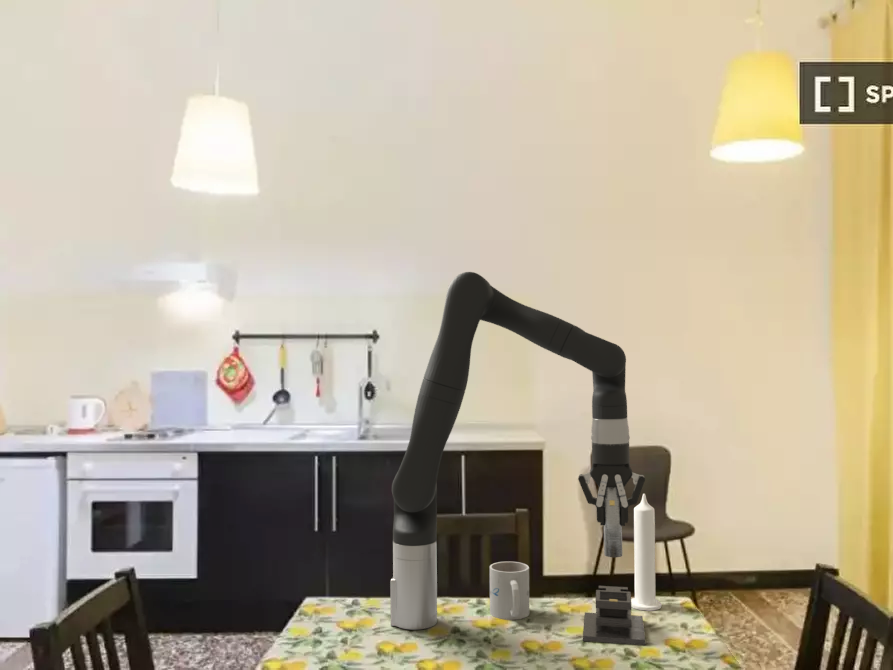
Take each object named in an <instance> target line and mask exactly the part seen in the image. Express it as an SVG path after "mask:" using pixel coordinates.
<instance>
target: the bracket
mask: <svg viewBox="0 0 893 670" xmlns="http://www.w3.org/2000/svg"><path fill="white" fill-rule="evenodd" d="M628 588H629V587H628V586H609V585H607V586H606V585H598V589H596V590H595V612H584V619H583V629H582V641H583V642H592V643H593V642H594V643H608V644H621V645H635V646H636V645H638V646H646V635H645V628H644V627H645V626H644V619H643V617H644V616H643V615H634V614H633V615H632V607H631V599H632V597H631V596H632V594H631V593H632V592H631V591H629V589H628Z"/></svg>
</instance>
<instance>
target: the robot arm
mask: <svg viewBox="0 0 893 670" xmlns="http://www.w3.org/2000/svg"><path fill="white" fill-rule="evenodd" d="M445 296H446V297H445V302H444V307H443V313H442V318H441V323H440V328H439V332H438V335H437V338H436V341H435V344H434V346H433V349H432V352H431V355H430V357H429V359H428V363H427V366H426V368H425V369H426V370H425V372H424V374H423V378H422V381H421V385H420V388H419V392H418V396H417V400H416V405H415V408H414V414H413V419H412V425H411V431H410V437H409V442H408V444H407V448H406V450H405V454H404V455H403V458H402V461H401V464H400V466H399V467H398V471H397V472H396V474H395V476H394V478H393V480H392V483H391V493H392V499H393V523H392V524H393V525H392V563H393V564H392V572H393V573H392V575H393V576H392V578H391V579H390V582H389V583H390V584H389V585H390V586H389V587H390V595H389V596H390V598H389V599H390V626H392V627H393V626H395V627H398V628H400V629H404V630H423V629H424V630H425V629H428V628H429V629H430V628H431V627H434V626H435V625H436V624H437V622H438V583H437V582H438V574H437V573H438V572H437V571H438V570H437V563H438V561H437V559H438V558H437V554H438V553H437V550H438V549H437V548H438V547H437V538H438V537H437V531H438V530H437V529H438V526H437V525H438V519H437V518H438V516H437V515H438V513H437V512H438V509H437V508H438V504H437V502H438V501H437V499H438V488H437V487H438V486H437V481H438V476H439V470H440V469H439V468H440V466H441V465H440V464H441V460H442V456H443V453H444V450H445V447H446V444H447V443H448V440H449V437H450V435H451V433H452V431H453V428H454V425H455V423H456V420H457V418H458V415H459V413H460V410H461V406H462V403H463V399H464V397H465V393H466V389H467V384H468V380H469V376H470V375H469V374H470V365H471V355H472V348H473V347H472V346H473V341H474V338H475V335H476V332H477V329H478V326H479V324H480V321H481V322H482V321H483V322H486V323H488V324H489V323H491V324H493V325H496V326H498V327H502V328H503V329H506V330H508V331H510V332H513V333H514V334H517V335H519V336H520V337H522V338H523V339H525V340H527V341H529V342H531V343H532V344H535V345H536V346H538V347H540V348H543V349H544V350H546V351H548V352H550V353H553V354H555V355H557V356H559V357H562V358H564V359H566V360H569V361H573V362H575V363H576V364H578V365H580V366H581V367H583V368H585V369H586V370H588V371H589V372H591V373H592V390H593V391H592V398H591V414H592V415H591V416H592V421H591V432H590V433H591V436H590V439H591V461H592V462H591V463H592V465H591V468H590V470H589V472H586V473H584V474H579V475H578V479H577V480H578V482H579V484H580V487H581V490H582V492H583V494H584V497H585V499H586V502H587V503H588V504H590V505H593V506H595V508H596V522H597V523H600V526H604V508H603V498H604V494H605V489H606V487H617V488H618V492H619V496H620V500H621V526H622V527H624V526H626V524H628V522H629V508H630V506H632V505H636V504H637V503H638V500H639V498H640V495H641V492H642V490H643V487H644V484H645V481H646V477H645V475H644V474H638V473H635V472H633V470H632V468H631V465H630V464H631V461H630V460H631V459H630V428H629V421H628V400H627V393H626V363H627V357H626V353H625V351H624V350H623V348H622V347H621V346H619V345H618V344H616V343H613V342H611V341H608V340H606V339H605V338H602V337H599V336H597V335H594V334H592V333H589V332H586V331H585V330H584V329H582V328H581V327H578V326H577V325H575V324H572V323H571V322H568V321H567V320H564V319H562V318H559V317H557V316H555V315H553V314H549V313H547V312H545V311H541V310H540V309H537V308H533V307H531V306H527V305H525V304H523V303H522V302H519V301H516V300H514V299H513V298H511V297H509V296H507V295H505V294H504V293H503V292H501V291H500V290H498V289H497V288H495V287H494V286H492V285H491V284H490V282H488V279H486V278H485V277H483V276H482V275H480V273H477V272H473V271H465V272H462V273H460V274H458V275H457V276H455V277H454V278H453V279H452V280H451V281H450V284H449V285H448V288H447V290H446V295H445ZM591 478H592V480H594V483H596V485H597V486H598V492H597V497H595V496H593V494H592V491H591V489H590V485H589V484H590V482H591V480H590V479H591ZM631 478H632V482H633V485H634V488H633V491H632V493H631V496H630V497H628V498H627V494H626V490H625V488H626V485H627V483H629V481H630V479H631Z"/></svg>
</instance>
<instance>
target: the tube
mask: <svg viewBox="0 0 893 670" xmlns="http://www.w3.org/2000/svg"><path fill="white" fill-rule="evenodd" d="M621 506H622V503H621V500H620V496H619V492H618V488H617V487H606V489H605V494H604V498H603V508H604V525H603V547H604V548H603V549H604V551H603V552H604V553H603V554H604V556H605V557H608V558H622V557H623V530H622V529H623V526H621Z"/></svg>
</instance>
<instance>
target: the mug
mask: <svg viewBox="0 0 893 670" xmlns="http://www.w3.org/2000/svg"><path fill="white" fill-rule="evenodd" d="M489 614H490V616H492V617H494V618H497V619H499V620H510V621H511V620H521V619H524V618H527V617H529V616H530V567H529V565H528V564H526V563H524V562H519V561H498V562H494V563H492V564H490V565H489Z"/></svg>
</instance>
